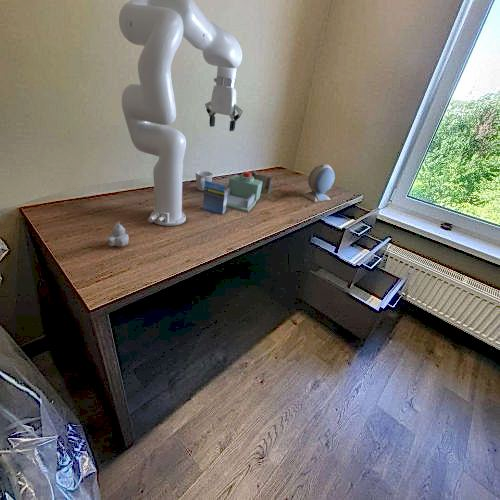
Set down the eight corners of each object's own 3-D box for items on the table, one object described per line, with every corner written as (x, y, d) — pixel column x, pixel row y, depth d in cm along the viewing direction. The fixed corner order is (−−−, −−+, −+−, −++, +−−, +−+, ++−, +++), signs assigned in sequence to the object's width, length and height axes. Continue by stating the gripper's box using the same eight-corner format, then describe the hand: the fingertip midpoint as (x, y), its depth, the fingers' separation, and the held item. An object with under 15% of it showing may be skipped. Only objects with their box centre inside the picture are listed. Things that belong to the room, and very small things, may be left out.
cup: (209, 195, 128) (210, 178, 124) (192, 193, 128) (192, 176, 124) (212, 188, 137) (213, 172, 133) (196, 185, 137) (197, 169, 133)
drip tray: (247, 212, 118) (249, 203, 116) (215, 203, 121) (216, 194, 119) (256, 203, 129) (257, 194, 127) (226, 195, 132) (227, 187, 130)
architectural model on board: (249, 187, 146) (251, 169, 141) (252, 186, 148) (254, 168, 143) (267, 194, 141) (270, 175, 136) (270, 193, 144) (273, 174, 139)
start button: (249, 178, 127) (249, 174, 126) (241, 177, 128) (242, 172, 127) (251, 176, 130) (252, 172, 129) (244, 175, 131) (244, 170, 130)
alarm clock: (318, 193, 156) (327, 161, 147) (332, 199, 149) (342, 166, 140) (300, 195, 148) (309, 161, 139) (313, 202, 142) (323, 167, 133)
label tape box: (226, 211, 116) (229, 182, 110) (222, 214, 112) (225, 185, 106) (206, 206, 117) (208, 178, 111) (202, 209, 114) (204, 180, 108)
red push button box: (255, 202, 129) (258, 181, 124) (227, 195, 132) (229, 174, 127) (259, 197, 136) (263, 177, 131) (233, 190, 139) (235, 171, 134)
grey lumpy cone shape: (134, 245, 84) (132, 221, 80) (114, 253, 79) (111, 228, 75) (122, 238, 87) (119, 215, 82) (102, 246, 82) (99, 222, 77)
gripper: (202, 79, 111) (200, 125, 120) (241, 86, 107) (235, 133, 115) (211, 80, 117) (208, 124, 126) (248, 87, 113) (243, 132, 121)
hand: (221, 128), depth 121 cm, fingers open, 9 cm apart
